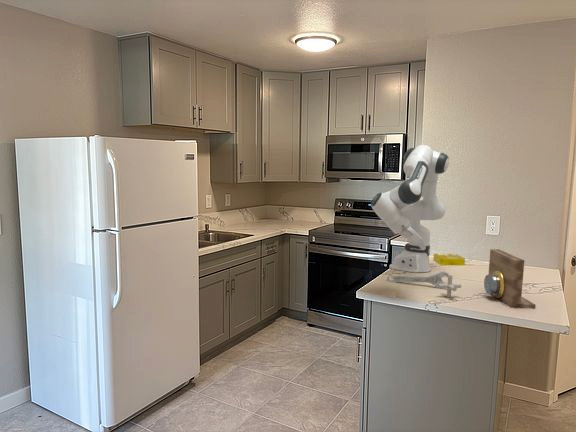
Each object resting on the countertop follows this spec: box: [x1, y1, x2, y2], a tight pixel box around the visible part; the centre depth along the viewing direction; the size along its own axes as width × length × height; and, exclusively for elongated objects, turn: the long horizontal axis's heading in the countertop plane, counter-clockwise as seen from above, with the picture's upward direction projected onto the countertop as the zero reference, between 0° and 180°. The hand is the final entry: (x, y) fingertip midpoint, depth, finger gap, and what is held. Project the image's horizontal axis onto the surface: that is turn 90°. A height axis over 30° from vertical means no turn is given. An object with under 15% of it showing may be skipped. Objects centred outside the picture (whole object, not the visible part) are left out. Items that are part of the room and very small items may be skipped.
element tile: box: [432, 252, 466, 266], centre depth 268 cm, size 15×15×5 cm
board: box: [487, 248, 536, 309], centre depth 193 cm, size 10×24×20 cm, turn 177°
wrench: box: [386, 270, 450, 289], centre depth 214 cm, size 8×2×30 cm
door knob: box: [483, 271, 505, 299], centre depth 194 cm, size 5×12×12 cm, turn 177°
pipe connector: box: [437, 273, 462, 298], centre depth 194 cm, size 10×10×10 cm
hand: (421, 247), depth 193 cm, fingers open, 8 cm apart
